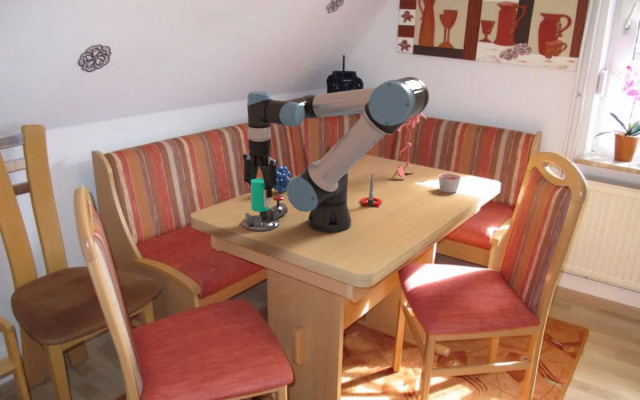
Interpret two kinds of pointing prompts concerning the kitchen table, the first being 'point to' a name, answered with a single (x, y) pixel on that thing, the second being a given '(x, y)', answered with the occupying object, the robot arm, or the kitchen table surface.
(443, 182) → the candle
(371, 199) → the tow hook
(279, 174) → the grapes
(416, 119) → the figurine
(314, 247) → the kitchen table surface
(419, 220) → the kitchen table surface
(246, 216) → the fitting
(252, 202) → the candle
